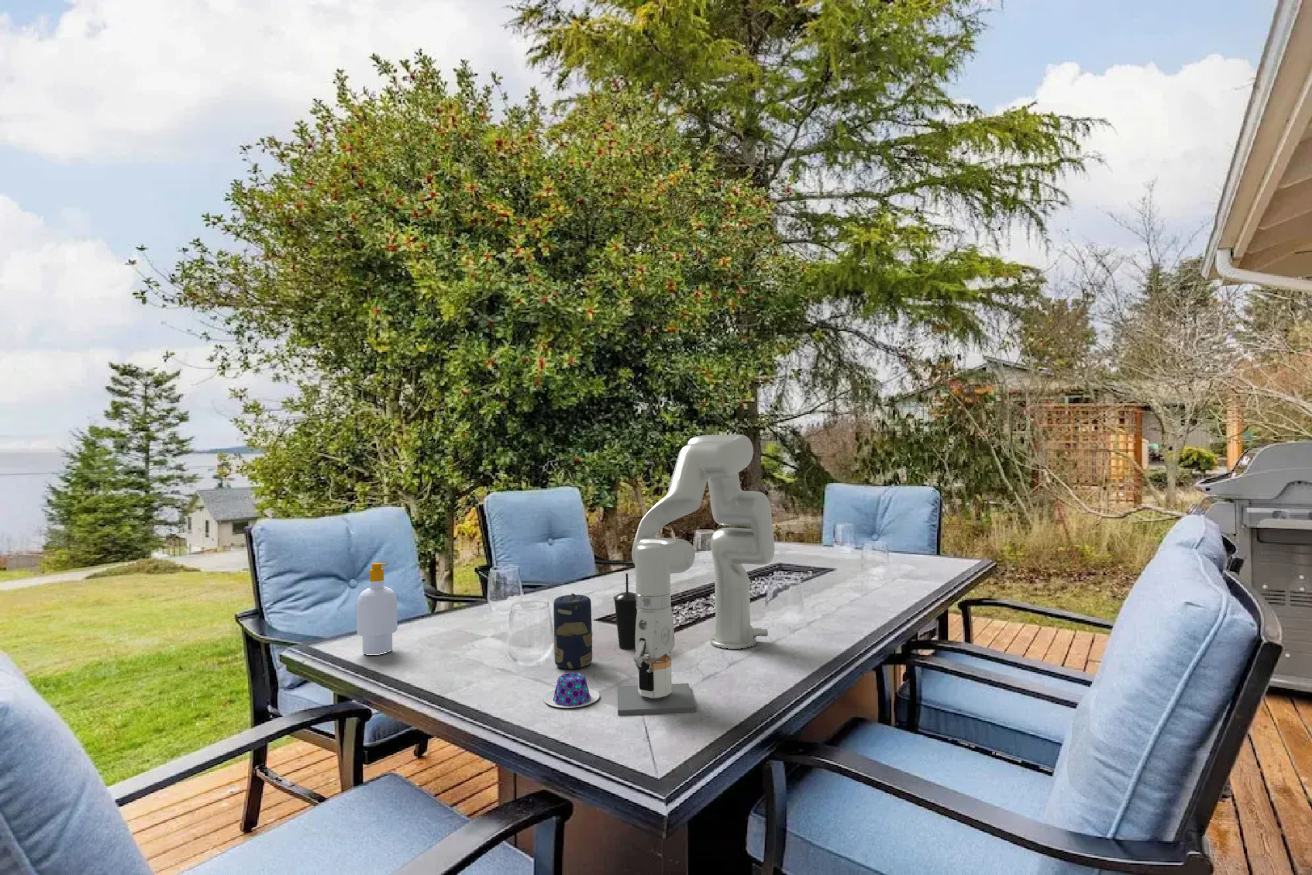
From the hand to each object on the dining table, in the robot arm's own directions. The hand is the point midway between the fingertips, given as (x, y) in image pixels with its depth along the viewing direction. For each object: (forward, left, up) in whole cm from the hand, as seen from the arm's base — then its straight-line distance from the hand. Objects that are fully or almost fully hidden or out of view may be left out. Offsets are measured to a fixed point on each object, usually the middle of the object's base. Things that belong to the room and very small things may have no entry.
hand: (654, 683), depth 146 cm
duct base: (0, 0, -4) cm, 4 cm away
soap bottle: (+73, -43, -4) cm, 85 cm away
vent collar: (0, 0, -2) cm, 2 cm away
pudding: (+18, -3, -4) cm, 19 cm away
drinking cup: (+5, -40, -4) cm, 40 cm away
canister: (+19, -26, -4) cm, 32 cm away
